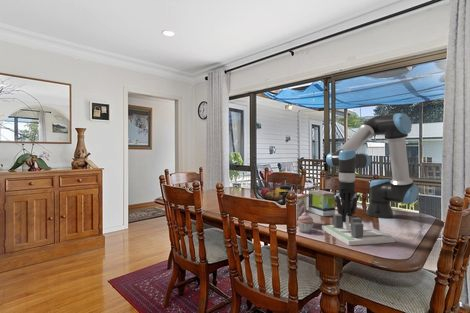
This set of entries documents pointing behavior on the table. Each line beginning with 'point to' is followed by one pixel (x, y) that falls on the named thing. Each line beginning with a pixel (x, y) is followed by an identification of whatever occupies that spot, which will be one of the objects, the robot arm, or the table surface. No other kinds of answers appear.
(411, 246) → the table surface
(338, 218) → the block
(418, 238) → the table surface
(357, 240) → the panel
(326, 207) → the tea box
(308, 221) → the cupcake
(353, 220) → the block
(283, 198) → the french press
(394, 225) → the table surface
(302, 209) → the candy bar box
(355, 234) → the block
